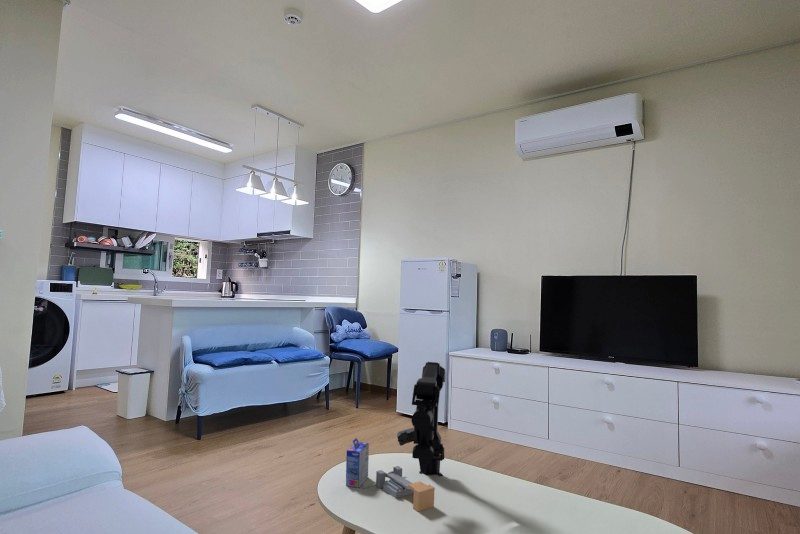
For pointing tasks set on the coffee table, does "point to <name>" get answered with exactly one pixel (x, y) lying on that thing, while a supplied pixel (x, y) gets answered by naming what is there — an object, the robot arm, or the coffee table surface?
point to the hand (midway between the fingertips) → (422, 472)
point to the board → (391, 484)
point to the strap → (398, 479)
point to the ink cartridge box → (357, 464)
